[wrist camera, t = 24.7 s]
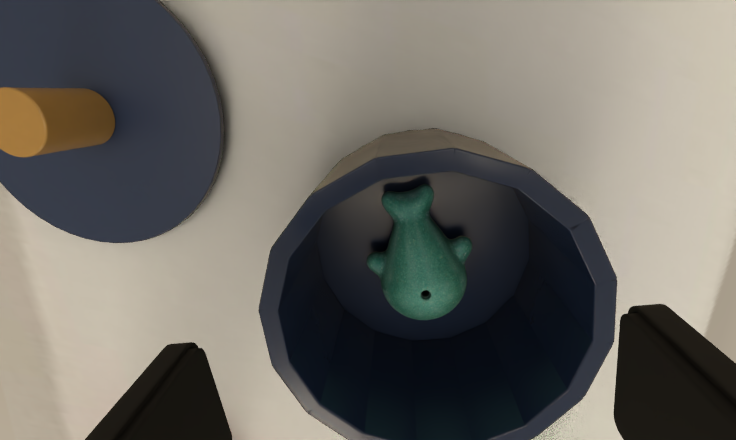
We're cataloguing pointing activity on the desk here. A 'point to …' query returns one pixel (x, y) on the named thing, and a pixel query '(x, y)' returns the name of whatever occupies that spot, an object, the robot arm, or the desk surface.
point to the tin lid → (106, 116)
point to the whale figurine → (420, 258)
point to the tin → (458, 327)
